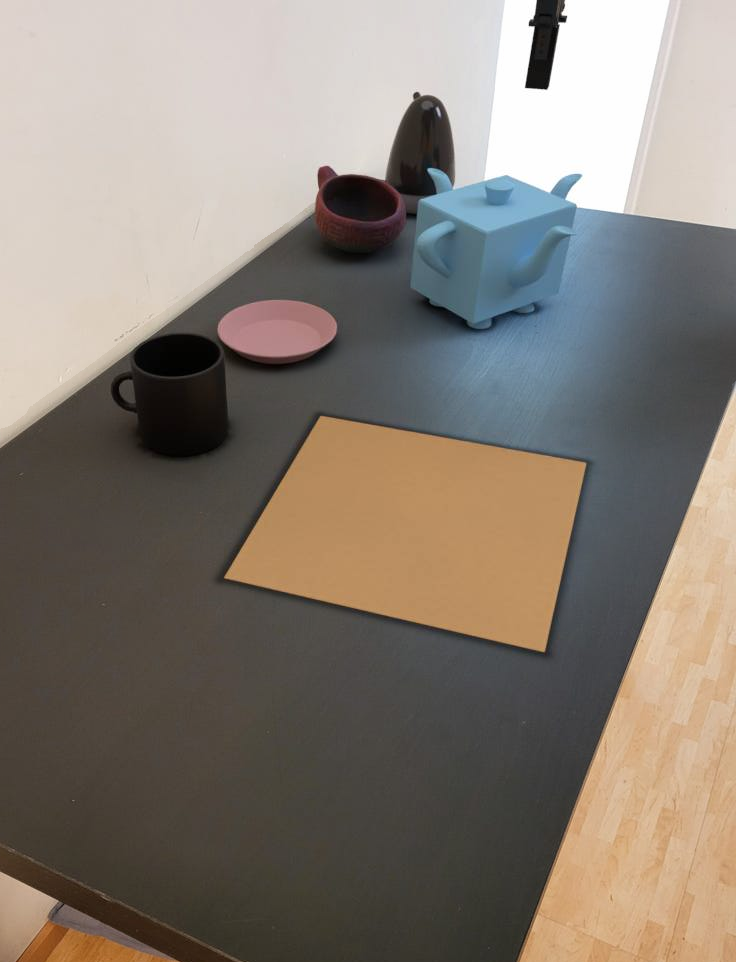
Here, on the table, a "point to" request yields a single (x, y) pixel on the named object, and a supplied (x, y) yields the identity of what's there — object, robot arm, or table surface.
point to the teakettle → (491, 245)
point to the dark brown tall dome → (421, 150)
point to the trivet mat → (419, 530)
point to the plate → (277, 330)
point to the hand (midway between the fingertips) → (536, 86)
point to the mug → (177, 393)
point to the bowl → (357, 211)
